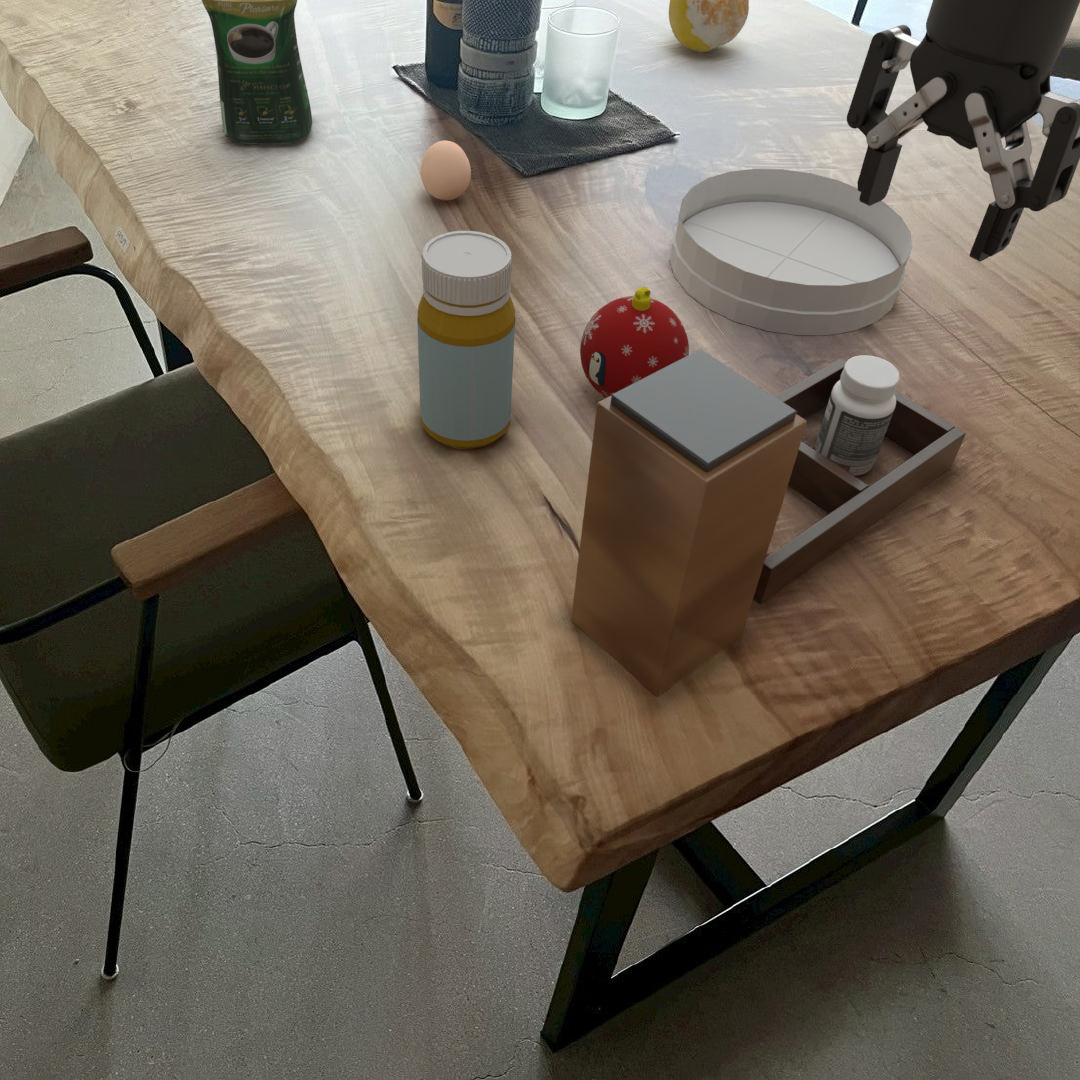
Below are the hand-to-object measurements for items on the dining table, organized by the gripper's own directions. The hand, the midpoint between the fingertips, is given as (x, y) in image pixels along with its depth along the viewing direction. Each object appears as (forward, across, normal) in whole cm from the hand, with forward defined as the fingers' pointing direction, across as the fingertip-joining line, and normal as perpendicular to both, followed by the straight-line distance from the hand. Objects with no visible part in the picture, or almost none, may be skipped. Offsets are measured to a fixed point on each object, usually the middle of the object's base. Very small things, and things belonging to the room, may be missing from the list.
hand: (925, 227), depth 68 cm
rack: (+20, 0, -6) cm, 21 cm away
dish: (+20, -21, +18) cm, 34 cm away
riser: (+20, +3, -24) cm, 31 cm away
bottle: (+20, -21, -21) cm, 36 cm away
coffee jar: (+20, -74, -7) cm, 77 cm away
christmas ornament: (+20, -16, -8) cm, 27 cm away
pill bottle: (+20, 0, 0) cm, 20 cm away
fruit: (+20, -64, +53) cm, 85 cm away
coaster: (+2, +3, -24) cm, 24 cm away
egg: (+20, -51, 0) cm, 55 cm away
